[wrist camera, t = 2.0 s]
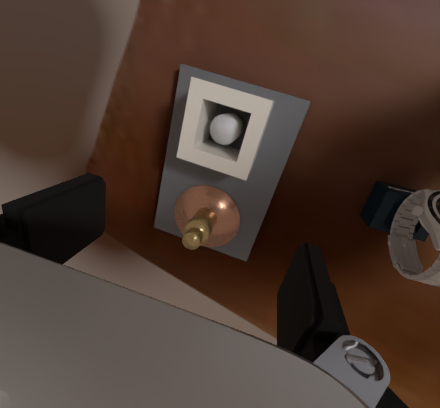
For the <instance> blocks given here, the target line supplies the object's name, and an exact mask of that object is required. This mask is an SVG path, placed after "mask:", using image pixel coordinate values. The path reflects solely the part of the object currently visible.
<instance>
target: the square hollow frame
mask: <svg viewBox="0 0 440 408" xmlns="http://www.w3.org/2000/svg"><path fill="white" fill-rule="evenodd" d="M274 102H275V101H272V100H269V99H266V98H262V97H259V96H255V95H252V94H249V93H245V92H242V91H239V90H235V89H232V88H228V87H225V86H222V85H218V84H215V83H212V82H208V81H205V80H201V79H198V78H195V77H191V81H190V87H189V92H188V97H187V103H186V108H185V114H184V119H183V124H182V130H181V135H180V141H179V146H178V151H177V158H180V159H183V160H186V161H189V162H192V163H195V164H198V165H201V166H204V167H207V168H210V169H213V170H216V171H219V172H222V173H225V174H228V175H231V176H234V177H237V178H240V179H243V180H247V178H248V176H249V173H250V171H251V169H252V167H253V164H254V161H255V158H256V155H257V152H258V149H259V146H260V143H261V140H262V137H263V134H264V131H265V128H266V125H267V122H268V119H269V116H270V113H271V111H272V108H273V105H274ZM217 103H219V104H222V105H225V106H229V107H232V108H235V109H239V110H242V111H245V112H248V113H251V116H250V120H249V123H248V126H247V130H246V133H245V136H244V139H243V143H242V146H241V149H240V150H238V149H235V148H232V147H229V146H226V145H221V144H219V143H217V142H214V141H211V140H209V135H210V125H211V122H212V120H213V119H214V115H215V110H216V106H217Z"/></svg>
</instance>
